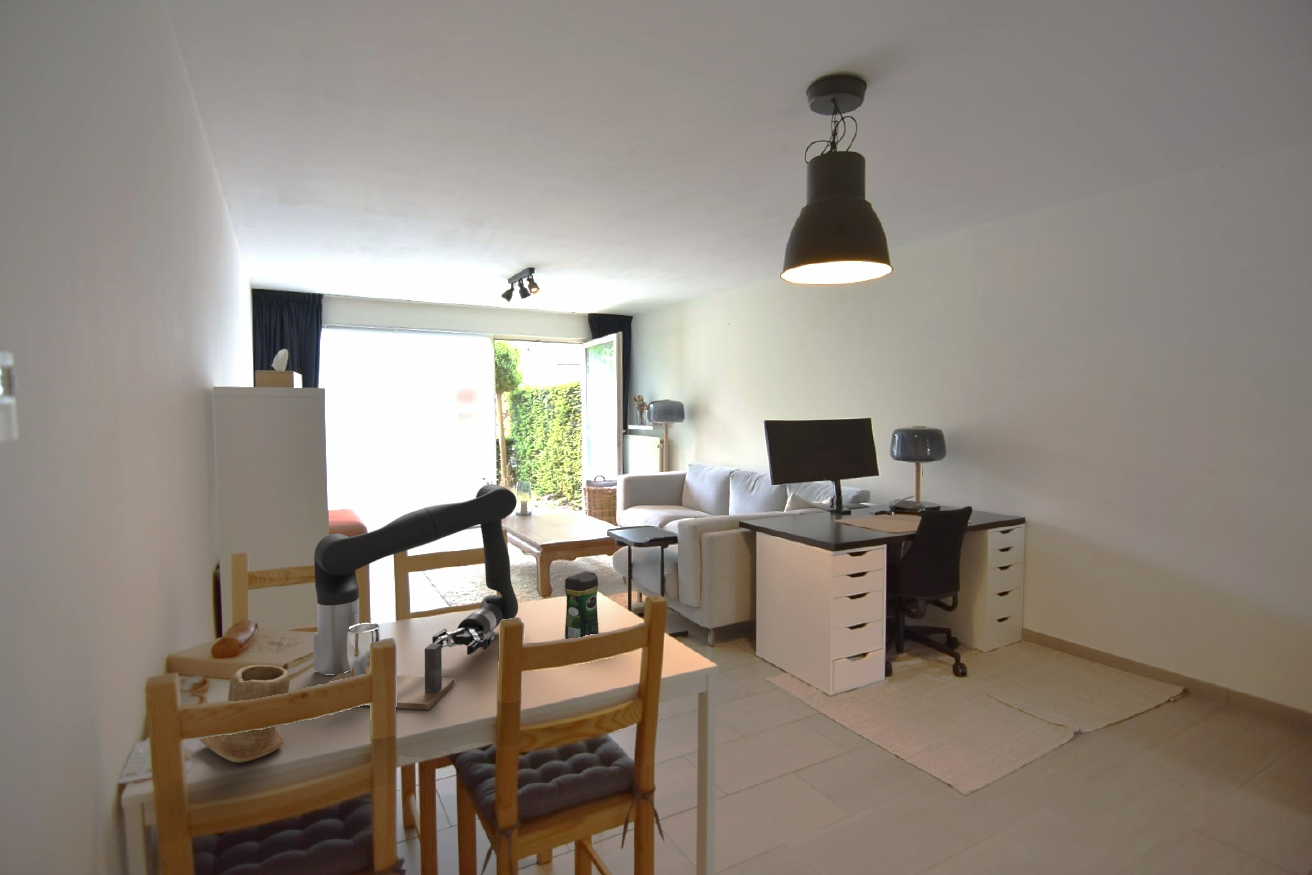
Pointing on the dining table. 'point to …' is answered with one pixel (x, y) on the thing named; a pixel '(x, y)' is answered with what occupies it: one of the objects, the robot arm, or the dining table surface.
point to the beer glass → (361, 646)
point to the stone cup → (246, 687)
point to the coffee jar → (581, 605)
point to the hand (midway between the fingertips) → (451, 649)
